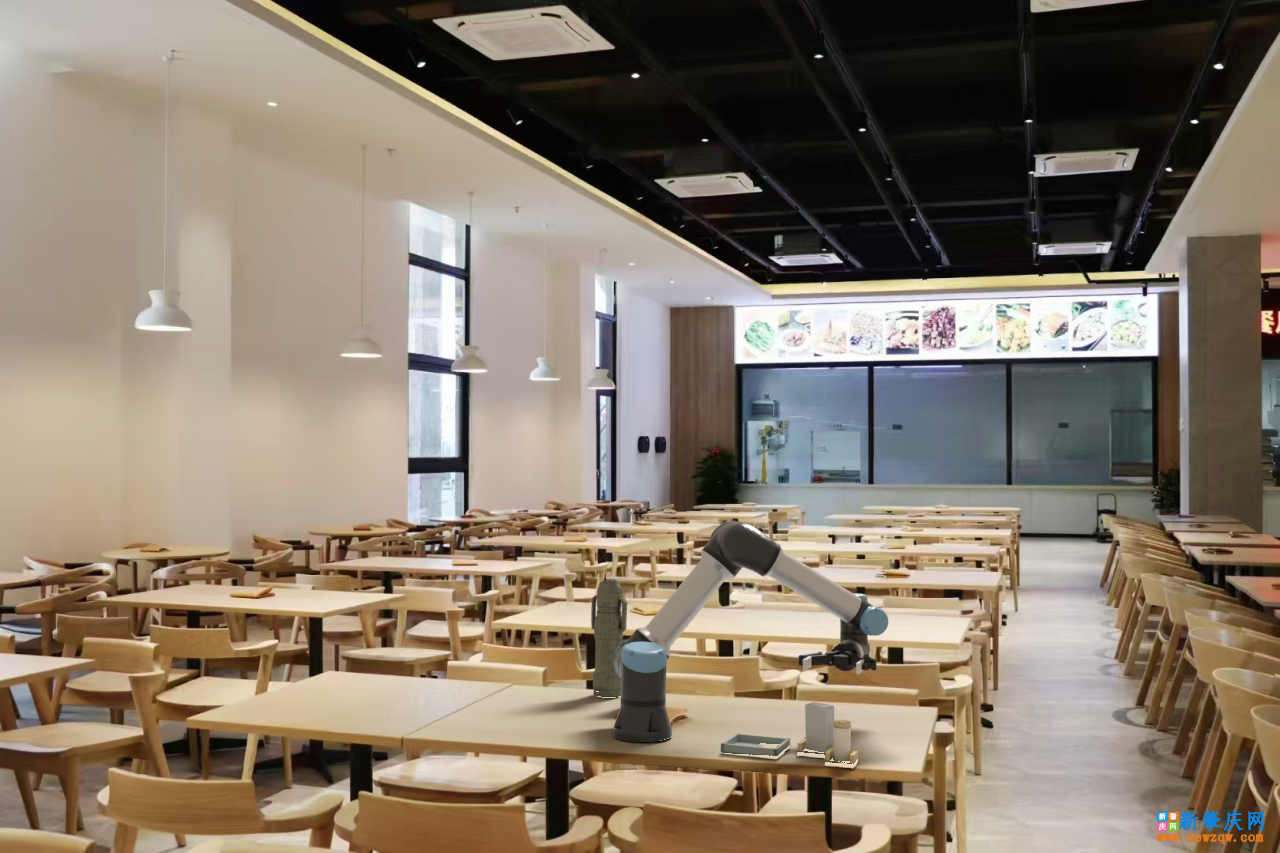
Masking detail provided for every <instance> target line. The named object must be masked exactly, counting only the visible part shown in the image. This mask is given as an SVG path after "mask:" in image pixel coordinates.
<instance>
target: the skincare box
mask: <svg viewBox="0 0 1280 853" xmlns="http://www.w3.org/2000/svg"><path fill="white" fill-rule="evenodd" d="M804 705H805V706H804V707H805V708H804V712H805V714H804V715H805V716H804V718H805V737H806V749H809V750H814V751H818V752H824V753H825V752H826V751H827V750H828V749H829V748H831V746H832V745H833V728H834V727H833V721H834V720H835V706H834V705H833V704H828V703H821V702H815V701H813V702H810V703H806V704H804Z"/></svg>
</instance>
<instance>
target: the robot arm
mask: <svg viewBox="0 0 1280 853" xmlns="http://www.w3.org/2000/svg"><path fill="white" fill-rule="evenodd" d="M700 554H701V558H700V560H699V562H697V564H696V565H695V567H694V568H693V569H692V570H691V571H690V572H689V574H688V575H687V576H686V578H685V579H684V580H683V581H682V582H681V583H680V584H679V586H678V587H677V589H676V590H675V591H674V592H672V595H671V596H670V597H669V598H668V599H667V600H666V601H665V603H664V604H663V605H662V607H661V608H660V609H659V610H658V611H657V613H656V614H655V615H654V616H653V618H652V619H651V620H650V621H649V623H647V624H646V626H644V627H637V628H636V629H635V631H634V632H633V633H632V634H631V636H630V637H629V638H628V639H627V640H625V641H623V642H621V644H620V645H619V646H618V648H617V649H616V651H615V653H614V656H613V668H614V671H615V674H616V675H617V677H618V678H619V679H620V680H621V697H620V707H619V710H618V713H617V716H616V719H615V722H614V724H613V732H612V736H613V738H614V739H616V740H619V741H624V742H629V741H630V742H629V743H640V742H650V743H654V742H653V741H660V740H664V739H667V738H670V737H671V736H672V737H673V728H672V724H671V721H670V718H669V715H668V711H667V707H666V702H667V701H666V698H667V697H666V696H667V695H666V694H667V687H666V686H667V664H668V663H667V662H668V659H669V658H670V657H671V647H672V646H673V645H674V643H676V641H677V640H678V638H679V637H680V636H681V635H682V634H683V632H684V630H686V628H687V627H688V626H689V625H690V624H691V622H692V621H693V620H694V619H695V617H696V616H697V615H698V614H699V613H700V611H701V610H702V609H703V607H704V606H705V605H706V604H707V603H708V602H709V600H710V599H711V598H712V597H713V595H714V594H715V593H716V592H717V590H718V589H719V588H720V587H721V586H722V584H723V583H724V582H725V581H726V580H728V579H729V580H730V579H734V578H735V577H736V576H737V575H738V574H739V572H741V570H742V569H743V568H744V569H746V570H749V571H752V572H754V573H756V574H758V575H759V576H761V577H767V576H768V577H770V578H772V579H774V580H775V581H776V582H778V583H780V584H781V585H783V586H785V587H787V588H789V589H790V590H792V591H794V592H795V593H796V594H798V595H800V596H802V597H803V598H805V599H807V600H808V601H811V602H812V603H813V604H814V605H818V606H819V607H820V608H822V609H824V610H825V611H827V612H829V613H831V614H832V615H833V616H836V617H837V618H838V619H840V620H839V621H840V622H839V624H840V625H839V626H840V633H839V634H840V635H839V638H840V639H839V640H840V642H839V643H837V644H836V645H835V646H834V647H833V648H832V650H831V651H829V652H827V651H826V652H825V653H823V651H820V650H819V651H816V652H812V653H811V652H810V653H807V654H806V653H805V654H800V655H798V665H799V666H802V671H803V672H804V671H808V670H809V669H810V668H812V666H823V665H824V666H827V667H835V668H836V669H837V670H839V671H842V672H850V671H852V670H854V669H855V674H856V675H860V674H861V673H863V672H864V671H869V670H872V671H877V659H875V658H873V657H871V656H870V652H871V644H870V643H869V640H868V638H869V637H870V636H871V637H872V636H873V637H875V636H877V637H878V636H881V635H883V634H884V633H885V632H886V630H887V628H888V627H889V616H888V614H887V613H886V612H885V611H884V610H883V609H881V608H880V607H878V606H875V605H873V604H871V603H870V602H869V600H868V596H867V595H866V594H865V593H855V592H852V591H850V590H848V589H847V588H844V587H843V586H842V585H840V584H838V583H837V582H835V581H833V580H831V579H830V578H828V577H826V576H825V575H823V574H822V573H820V572H818V571H816V570H815V569H814V568H812V567H811V566H808V565H807V564H805V563H803V561H800V560H798V559H797V558H795V557H793V556H792V555H790V554H789V553H787V552H785V551H784V550H783V546H782V545H781V544H779V543H777V542H776V541H775V540H773V539H772V538H770V537H768V535H766V534H765V533H763V532H762V531H761V530H760V529H758V528H757V527H755V526H754V525H752V524H750V523H748V522H747V523H746V522H741V521H737V520H730V521H726V522H723V523H720V524H719V525H718V526H717V527H716V528H714V530H713V531H712V532H711V534H710V537H709V541H708V542H707V543H706V544H705V545H704V547H703V548H702V549H701V551H700ZM868 636H869V637H868Z"/></svg>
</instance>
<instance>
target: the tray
mask: <svg viewBox="0 0 1280 853" xmlns="http://www.w3.org/2000/svg"><path fill="white" fill-rule="evenodd" d="M760 743H766V744H780V745H778V746H777V747H776V748H765V747H762V746H763V745H759V744H760ZM789 745H790V746H791V738H786V737H778V736H777V737H776V736H768V735H767V736H766V735H760V734H759V735H757V734H747V733H734V734H733V735H731V736H730V737H729V738H727V739H726V740H724V741H723V742H721V743H720V753H721V752H722V753H732V754H749V755H751V754H752V755H769V756H771V755H772V756H778V755H779V754H780V753H781V752H782V751H783V750H784V749H786V748H787V747H788V746H789Z"/></svg>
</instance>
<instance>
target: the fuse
mask: <svg viewBox="0 0 1280 853" xmlns="http://www.w3.org/2000/svg"><path fill="white" fill-rule="evenodd" d="M833 727H834V728H833V760H834V761H840V762H842V761H850V754H851V747H852V746H851V744H852V743H851V740H852V739H851V738H852V737H851V732H852V731H851V728H852V721H850V720H847V719H836V720H835V719H834V721H833Z"/></svg>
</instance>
